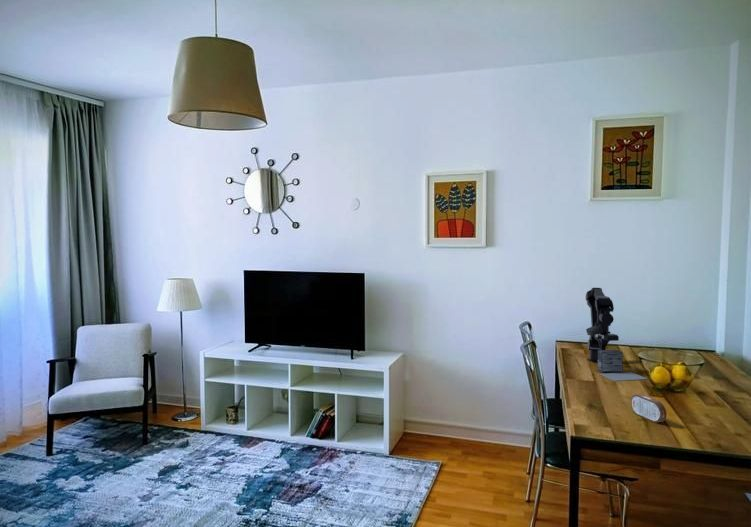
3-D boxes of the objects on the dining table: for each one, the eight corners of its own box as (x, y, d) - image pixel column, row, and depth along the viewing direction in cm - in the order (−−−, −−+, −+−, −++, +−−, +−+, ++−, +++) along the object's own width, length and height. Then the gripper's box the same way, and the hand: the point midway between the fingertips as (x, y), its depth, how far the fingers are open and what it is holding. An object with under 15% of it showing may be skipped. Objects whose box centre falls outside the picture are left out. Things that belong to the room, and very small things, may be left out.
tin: (666, 425, 188) (667, 402, 187) (660, 426, 187) (660, 403, 186) (635, 411, 202) (636, 390, 202) (628, 412, 201) (629, 391, 201)
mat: (598, 374, 255) (599, 373, 255) (630, 372, 258) (630, 372, 258) (614, 381, 243) (614, 380, 243) (647, 379, 246) (647, 378, 246)
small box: (618, 369, 263) (618, 349, 263) (623, 372, 257) (623, 352, 256) (597, 369, 264) (597, 349, 264) (601, 372, 258) (601, 351, 257)
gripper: (578, 318, 273) (577, 347, 274) (599, 324, 255) (599, 355, 256) (597, 318, 275) (596, 346, 276) (619, 324, 257) (618, 354, 258)
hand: (602, 350), depth 267 cm, fingers closed
